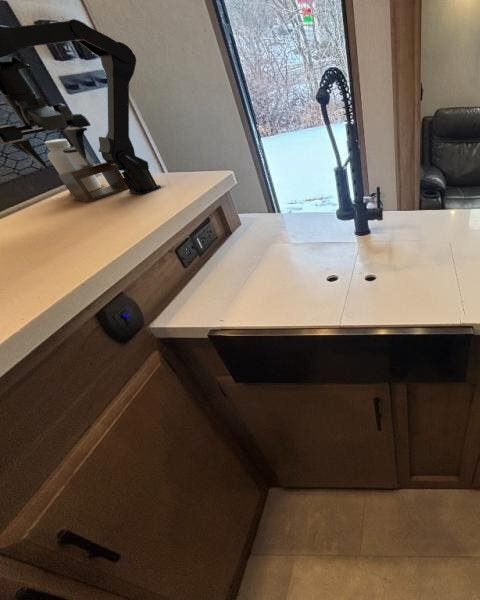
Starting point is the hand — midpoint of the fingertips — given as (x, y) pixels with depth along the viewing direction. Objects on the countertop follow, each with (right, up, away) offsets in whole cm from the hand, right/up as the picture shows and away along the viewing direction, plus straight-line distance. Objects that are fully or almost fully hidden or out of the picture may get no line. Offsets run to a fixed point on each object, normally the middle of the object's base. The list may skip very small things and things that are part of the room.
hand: (66, 163), depth 85 cm
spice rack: (-5, -3, +16) cm, 18 cm away
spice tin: (-6, +3, +12) cm, 14 cm away
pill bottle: (-14, 0, +21) cm, 25 cm away
